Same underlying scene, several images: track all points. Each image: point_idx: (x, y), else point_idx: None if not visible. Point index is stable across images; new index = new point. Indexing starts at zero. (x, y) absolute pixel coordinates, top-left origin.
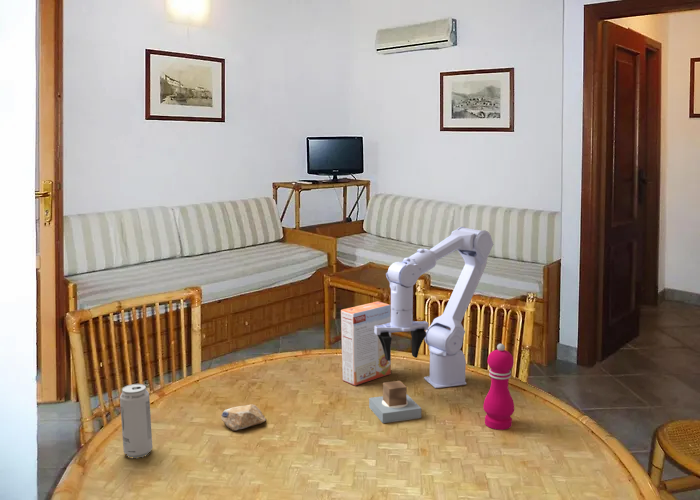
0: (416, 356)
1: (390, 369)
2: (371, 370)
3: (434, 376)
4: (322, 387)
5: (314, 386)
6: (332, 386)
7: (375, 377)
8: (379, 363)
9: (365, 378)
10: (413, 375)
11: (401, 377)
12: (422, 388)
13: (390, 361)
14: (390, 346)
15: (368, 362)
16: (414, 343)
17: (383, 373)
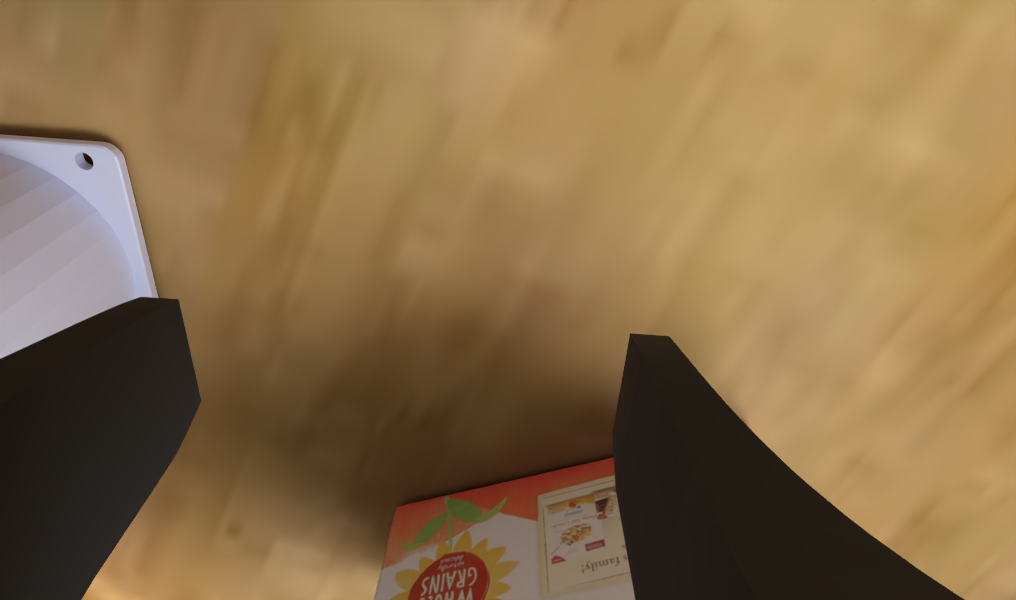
0: (141, 302)
1: (393, 532)
2: (586, 524)
3: (65, 253)
4: (972, 482)
5: (1008, 512)
6: (896, 473)
7: (542, 480)
8: (497, 575)
9: None
10: (238, 441)
11: (339, 440)
12: (238, 198)
13: (379, 589)
14: (713, 502)
15: (627, 587)
16: (28, 526)
17: (463, 506)
